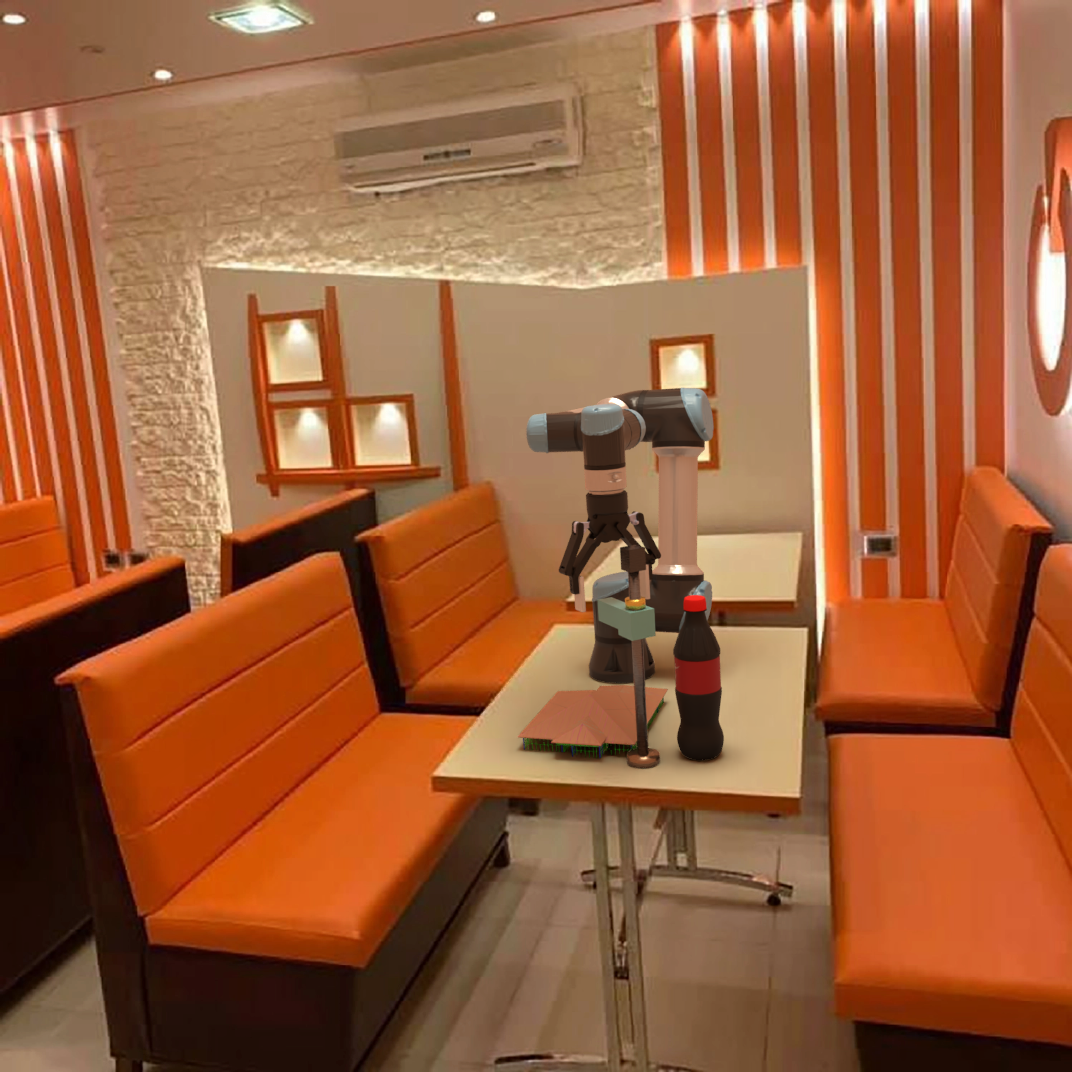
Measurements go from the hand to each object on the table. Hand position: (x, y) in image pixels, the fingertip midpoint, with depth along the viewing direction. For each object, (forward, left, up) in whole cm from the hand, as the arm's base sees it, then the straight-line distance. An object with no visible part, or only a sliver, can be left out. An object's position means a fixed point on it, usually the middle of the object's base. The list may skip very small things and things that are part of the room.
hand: (613, 604), depth 193 cm
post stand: (+9, 0, -28) cm, 29 cm away
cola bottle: (+12, +10, -28) cm, 32 cm away
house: (-11, 0, -29) cm, 31 cm away
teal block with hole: (+4, 0, -4) cm, 6 cm away
